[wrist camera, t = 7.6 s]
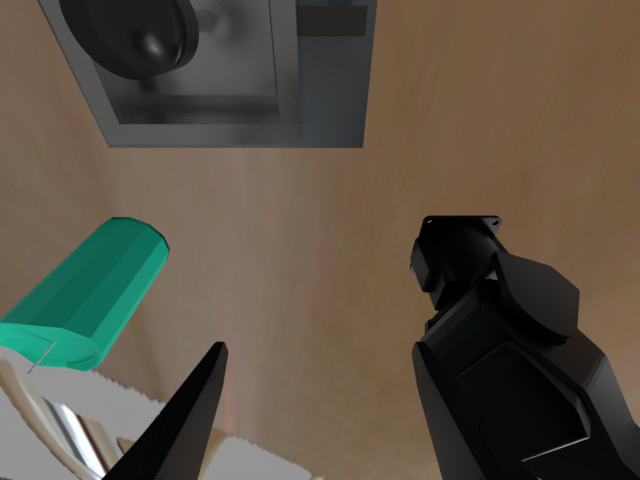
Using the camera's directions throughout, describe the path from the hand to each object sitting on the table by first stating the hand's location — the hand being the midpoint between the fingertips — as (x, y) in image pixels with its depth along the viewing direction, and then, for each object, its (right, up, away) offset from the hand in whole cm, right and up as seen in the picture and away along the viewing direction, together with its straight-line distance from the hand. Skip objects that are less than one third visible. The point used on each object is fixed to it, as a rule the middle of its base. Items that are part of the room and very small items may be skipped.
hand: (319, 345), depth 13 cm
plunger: (-6, +17, +2) cm, 18 cm away
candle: (-17, +5, +12) cm, 22 cm away
